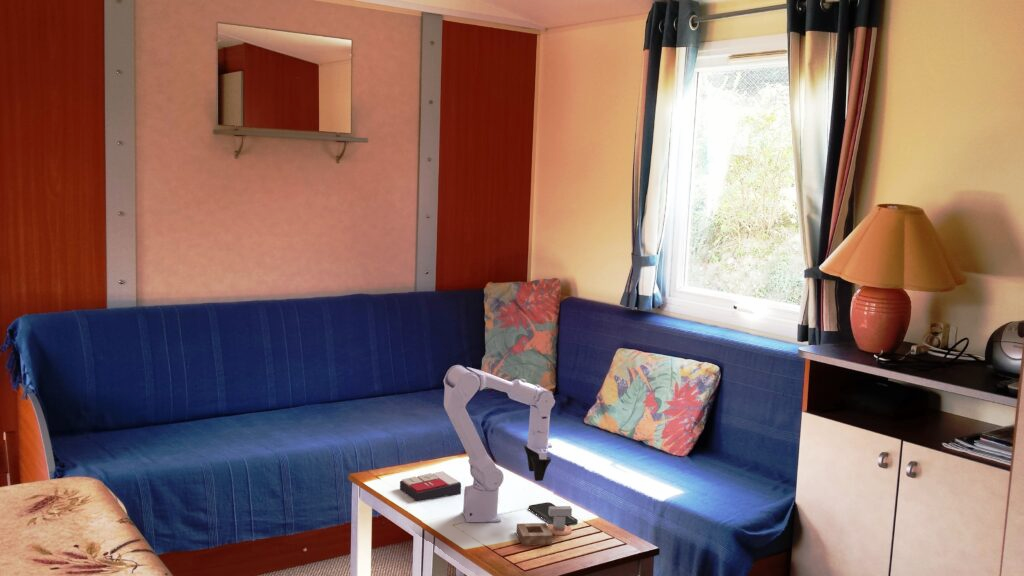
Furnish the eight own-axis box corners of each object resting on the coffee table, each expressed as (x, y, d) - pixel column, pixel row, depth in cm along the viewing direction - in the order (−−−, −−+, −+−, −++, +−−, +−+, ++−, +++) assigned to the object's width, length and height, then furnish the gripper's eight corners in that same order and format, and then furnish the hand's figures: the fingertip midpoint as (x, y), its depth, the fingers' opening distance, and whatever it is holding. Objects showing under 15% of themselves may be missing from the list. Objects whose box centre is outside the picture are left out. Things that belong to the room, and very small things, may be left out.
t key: (549, 530, 241) (550, 509, 240) (546, 526, 243) (548, 506, 243) (570, 530, 242) (572, 509, 241) (568, 526, 245) (569, 505, 244)
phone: (549, 501, 261) (579, 520, 248) (549, 505, 261) (579, 524, 248) (526, 505, 257) (555, 525, 244) (526, 509, 257) (555, 529, 244)
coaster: (549, 535, 239) (549, 534, 239) (543, 525, 246) (543, 523, 246) (574, 535, 240) (574, 533, 240) (567, 524, 247) (567, 523, 247)
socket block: (522, 545, 232) (523, 536, 231) (516, 532, 240) (516, 523, 239) (552, 544, 233) (552, 535, 233) (545, 531, 241) (545, 523, 241)
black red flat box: (399, 478, 265) (443, 469, 274) (399, 492, 266) (443, 482, 274) (416, 490, 256) (461, 480, 265) (416, 505, 257) (461, 494, 265)
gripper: (558, 437, 246) (555, 484, 248) (546, 422, 260) (543, 466, 262) (533, 437, 245) (530, 484, 247) (523, 422, 259) (520, 466, 261)
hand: (535, 475), depth 254 cm, fingers open, 7 cm apart
